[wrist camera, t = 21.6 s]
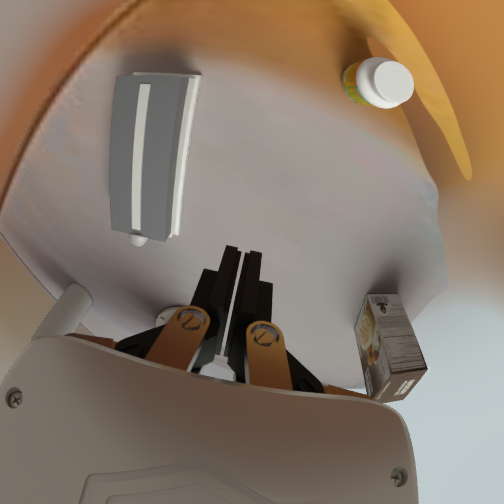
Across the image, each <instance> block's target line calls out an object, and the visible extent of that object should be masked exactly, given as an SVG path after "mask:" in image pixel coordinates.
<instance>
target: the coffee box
mask: <svg viewBox="0 0 504 504" xmlns="http://www.w3.org/2000/svg"><path fill="white" fill-rule="evenodd" d="M354 332H355V336H356V340H357V345H358V349H359V355H360V359H361V365H362V370H363V375H364V380H365V386H366V391H367V395H368V396H370V397H372V398H373V399H374V400H375V401H377V402H380V403H387V402H393V401H398V400H403V399H404V398H405V397H406V396H407V395H408V394H409V392H410V391H411V390H412V389H413V387H414V386H415V385H416V384H417V382H418V381H419V380H420V379H421V378H422V376H423V375H424V374H425V372H426V371H427V370H428V368H427V366H426V363H425V360H424V357H423V354H422V352H421V349H420V346H419V344H418V341H417V339H416V336H415V333H414V331H413V328H412V326H411V323H410V321H409V319H408V316H407V314H406V312H405V309H404V307H403V305H402V302H401V300H400V298H399V296H398V294H367V295H366V297H365V300H364V303H363V306H362V309H361V312H360V315H359V318H358V321H357V323H356V326H355V329H354Z"/></svg>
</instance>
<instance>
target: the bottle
mask: <svg viewBox="0 0 504 504" xmlns="http://www.w3.org/2000/svg"><path fill="white" fill-rule="evenodd" d="M92 303H93V301H92V298H91V295H90V294H89V292H88V291H87V290H86V289H85V288H84V287H82V286H81V285H79V284H76V283H72V284H70V285H69V287H68V288H67V289H66V290H65V292H64V293H63V294H62V295H61V297H60V298H59V299H58V301H57V302H56V303H55V305H54V306H53V307H52V309H51V310H50V312H49V313H48V314H47V316H46V317H45V318H44V320H43V322H42V323H41V324H40V326H39V327H38V329H37V330H36V332H35V333H34V335H33V336H32V338H31V341H32V340H34V339H35V338H37V337H40V336H45V335H65V334H68V333H73V332H74V331H75V329H76V328H77V326H78V325H79V323H80V322H81V320H82V319H83V317H84V316H85V314H86V313H87V311H88V310H89V308H90V307H91V305H92Z"/></svg>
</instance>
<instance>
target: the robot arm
mask: <svg viewBox="0 0 504 504" xmlns="http://www.w3.org/2000/svg"><path fill="white" fill-rule="evenodd" d="M237 250H238V248H237V247H233V246H228V245H226V248H225V251H224V254H223V257H222V261H221V264H220V267H219V270H218V271H213V270H209V269H204V270H203V272H202V275H201V277H200V280H199V283H198V285H197V288H196V291H195V293H194V296H193V299H192V301H191V304H190V306H183V307H171V308H167V309H165V310H163V311H162V312H161V313H160V314H159V315H158V317H157V319H156V328H153V329H150V330H147V331H145V332H142V333H139V334H136V335H133V336H131V337H128V338H125V339H123V340H121V341H119V342H115V341H114V339H111V338H103V337H96V336H90V335H83V334H77V333H68V334H65V335H45V336H40V337H37V338H35V339H34V340H32V341H31V342H30V343H29V344H28V345H27V346H26V347H25V348H24V349H23V350H22V351H21V353H20V354H19V355H18V357H17V358H16V359H15V361H14V363H13V364H12V366H11V367H10V369H9V370H8V372H7V374H6V375H5V377H4V379H3V381H2V383H1V385H0V504H418V486H417V475H416V465H415V459H414V453H413V447H412V442H411V439H410V434H409V431H408V428H407V425H406V423H405V421H404V419H403V417H402V416H401V415H400V413H398V412H397V411H396V410H395V409H393V408H391V407H390V406H388V405H385V404H383V403H380V402H377V401H375V400H374V399H373V398H372V397H370V396H368V395H366V394H361V393H358V392H354V391H350V390H346V389H343V388H339V387H336V386H332V385H329V384H328V385H327V386H324V385H322V384H321V382H320V381H319V380H318V379H317V378H316V377H315V376H314V375H313V374H312V373H311V372H310V371H308V370H307V369H306V368H305V367H304V366H303V365H302V364H301V363H300V362H299V361H298V360H297V359H296V358H295V357H294V356H292V355H291V354H290V353H289V352H288V351H287V350H286V348H285V343H284V337H283V334H282V331H281V330H280V329H279V328H278V327H277V326H276V325H274V324H272V323H271V316H272V292H273V284H272V283H269V282H264V281H259V277H260V267H261V258H262V253H260V252H256V251H251V250H250V253H246V252H245V256H244V260H243V265H242V269H241V274H240V278H239V283H238V287H237V292H236V296H235V301H234V306H233V311H232V316H231V321H230V326H229V331H228V336H227V341H226V346H225V352H224V356H226V357H228V362H227V364H228V365H229V366H230V367H231V369H232V370H233V371H234V375H233V381H228V380H223V379H218V378H214V377H209V376H205V375H202V372H203V368H204V365H206V364H208V363H210V362H212V361H214V356H215V354H216V355H220V351H221V346H222V342H223V337H224V332H225V327H226V323H227V318H228V313H229V308H230V304H231V299H232V294H233V290H234V285H235V280H236V276H237V271H238V266H239V262H240V257H241V251H237Z"/></svg>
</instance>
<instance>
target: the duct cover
mask: <svg viewBox="0 0 504 504" xmlns="http://www.w3.org/2000/svg"><path fill="white" fill-rule="evenodd" d="M188 82H189V78H186V77H175V76H152V75H125V76H117V77H116V84H115V92H114V100H113V110H112V122H111V138H110V211H111V227H112V230H116V231H120V232H125V233H129V239H130V241H131V242H132V243H133V244H134V245H135V246H143V245H144V243H145V242H146V241H147V240H148V238H150V239H154V240H159V241H163V242H165V241H166V239H167V238H168V236H169V235H170V233H171V222H172V207H173V195H174V183H175V173H176V164H177V155H178V147H179V139H180V132H181V125H182V118H183V111H184V105H185V99H186V93H187V88H188Z"/></svg>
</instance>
